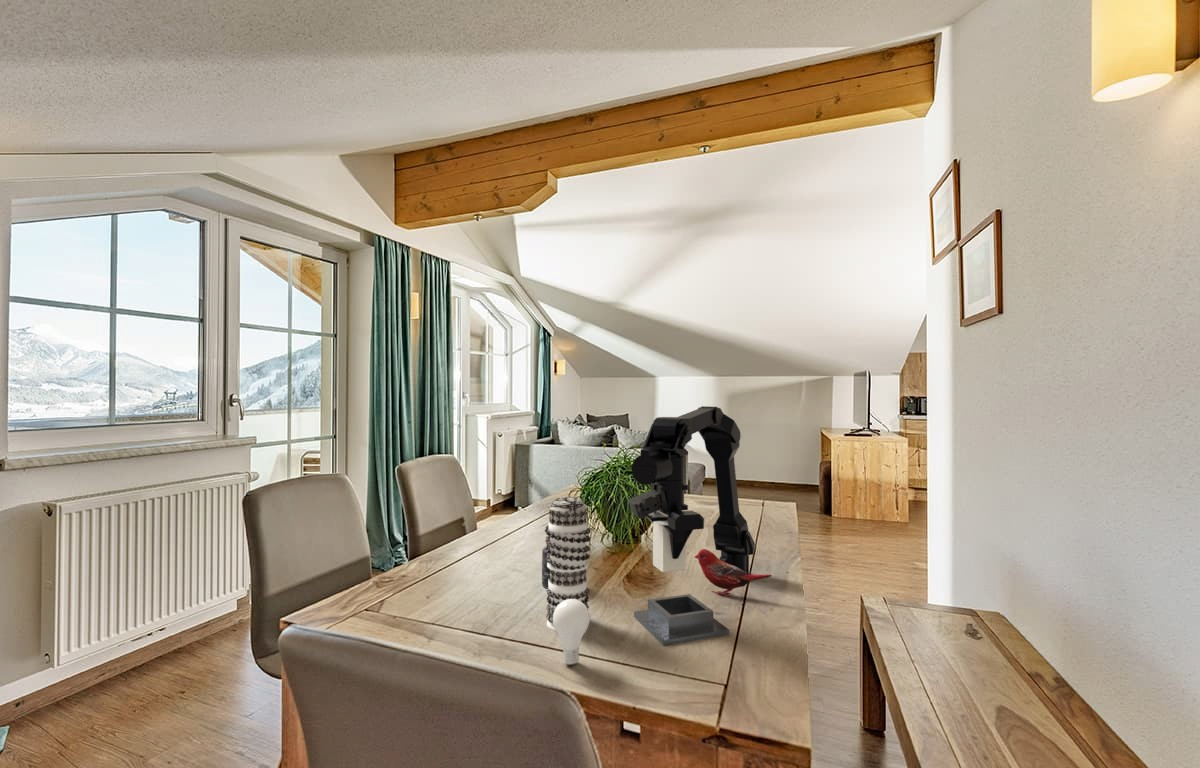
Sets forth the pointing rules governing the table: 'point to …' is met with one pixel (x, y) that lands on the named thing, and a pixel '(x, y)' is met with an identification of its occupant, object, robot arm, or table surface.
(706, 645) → the table surface
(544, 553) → the pill bottle
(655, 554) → the square peg
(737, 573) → the decorative bird figurine
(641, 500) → the robot arm
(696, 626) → the square socket
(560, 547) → the decorative candle
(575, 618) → the lightbulb
